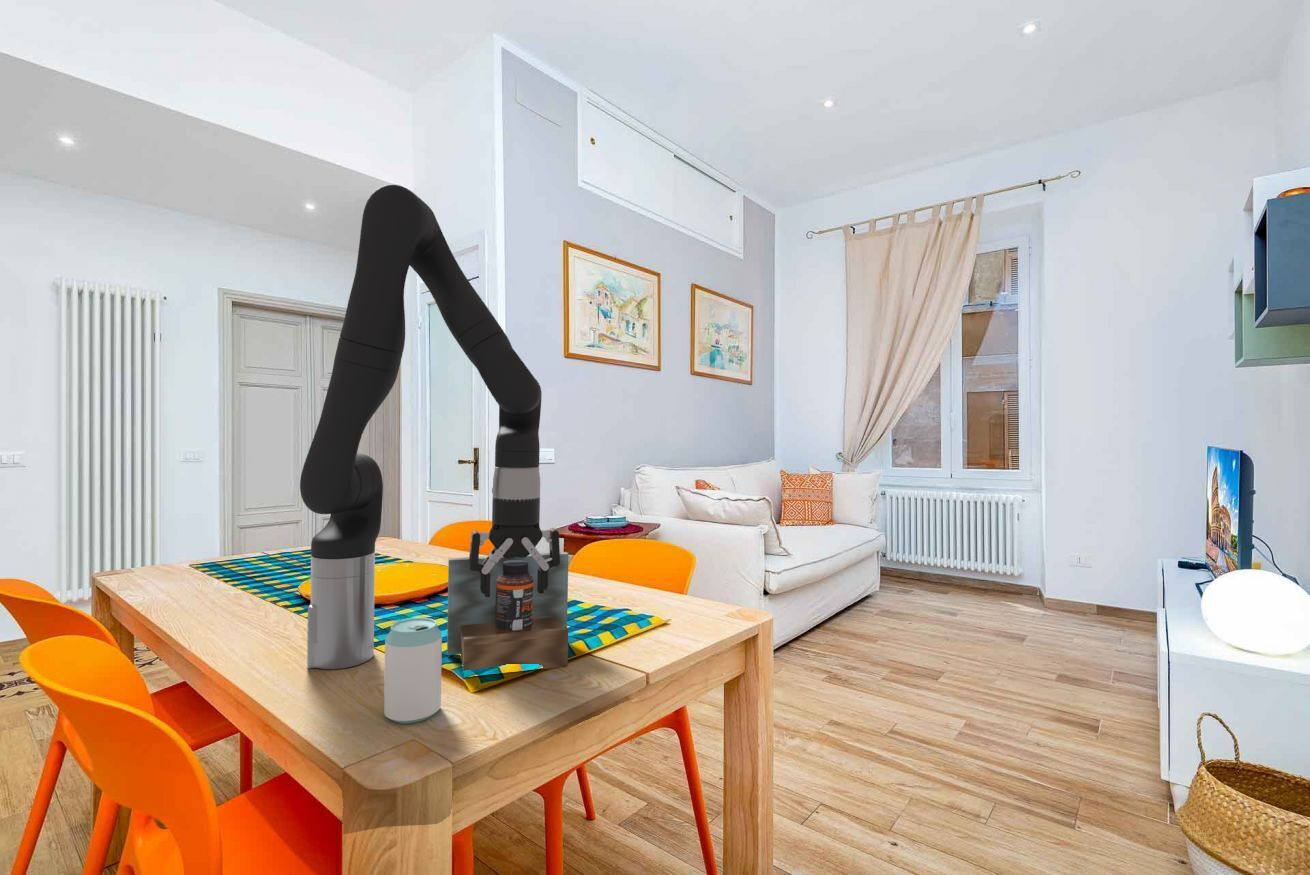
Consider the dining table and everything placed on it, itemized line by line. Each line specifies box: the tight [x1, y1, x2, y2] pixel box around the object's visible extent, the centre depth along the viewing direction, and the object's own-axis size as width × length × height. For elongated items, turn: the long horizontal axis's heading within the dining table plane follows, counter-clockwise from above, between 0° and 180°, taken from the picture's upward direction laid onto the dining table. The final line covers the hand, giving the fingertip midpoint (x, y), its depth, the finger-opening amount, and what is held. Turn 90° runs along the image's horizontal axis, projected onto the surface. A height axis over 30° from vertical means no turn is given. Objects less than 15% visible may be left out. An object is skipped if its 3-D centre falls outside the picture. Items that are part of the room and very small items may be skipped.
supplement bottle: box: [495, 560, 533, 634], centre depth 101 cm, size 6×6×11 cm
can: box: [383, 617, 443, 724], centre depth 83 cm, size 7×7×12 cm
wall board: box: [446, 551, 569, 671], centre depth 102 cm, size 20×11×16 cm, turn 110°
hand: (514, 594), depth 101 cm, fingers open, 8 cm apart
